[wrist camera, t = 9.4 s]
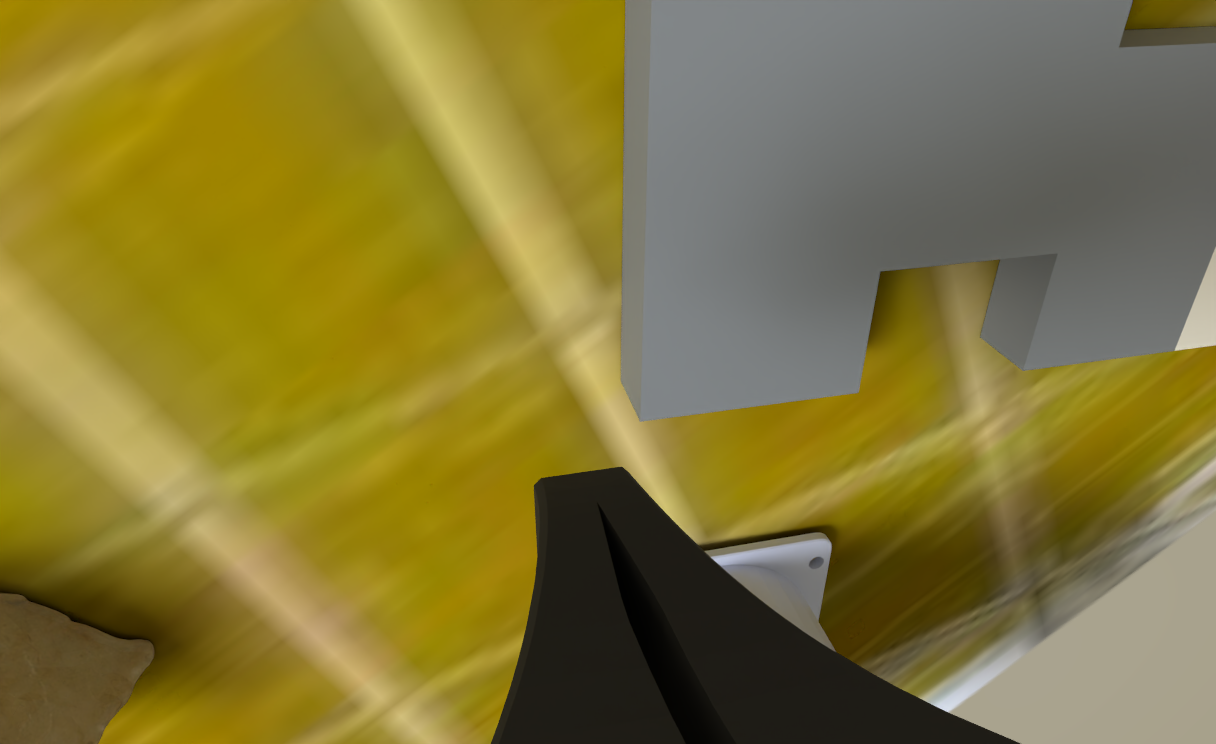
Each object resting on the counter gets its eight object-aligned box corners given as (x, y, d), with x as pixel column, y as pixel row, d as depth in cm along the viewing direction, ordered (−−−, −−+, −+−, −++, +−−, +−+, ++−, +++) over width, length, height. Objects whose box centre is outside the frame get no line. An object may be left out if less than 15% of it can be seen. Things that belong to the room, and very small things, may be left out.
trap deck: (1306, 297, 28) (1454, 365, 24) (620, 380, 23) (669, 482, 19) (1508, -132, 21) (1750, -132, 18) (627, -135, 17) (700, -134, 13)
